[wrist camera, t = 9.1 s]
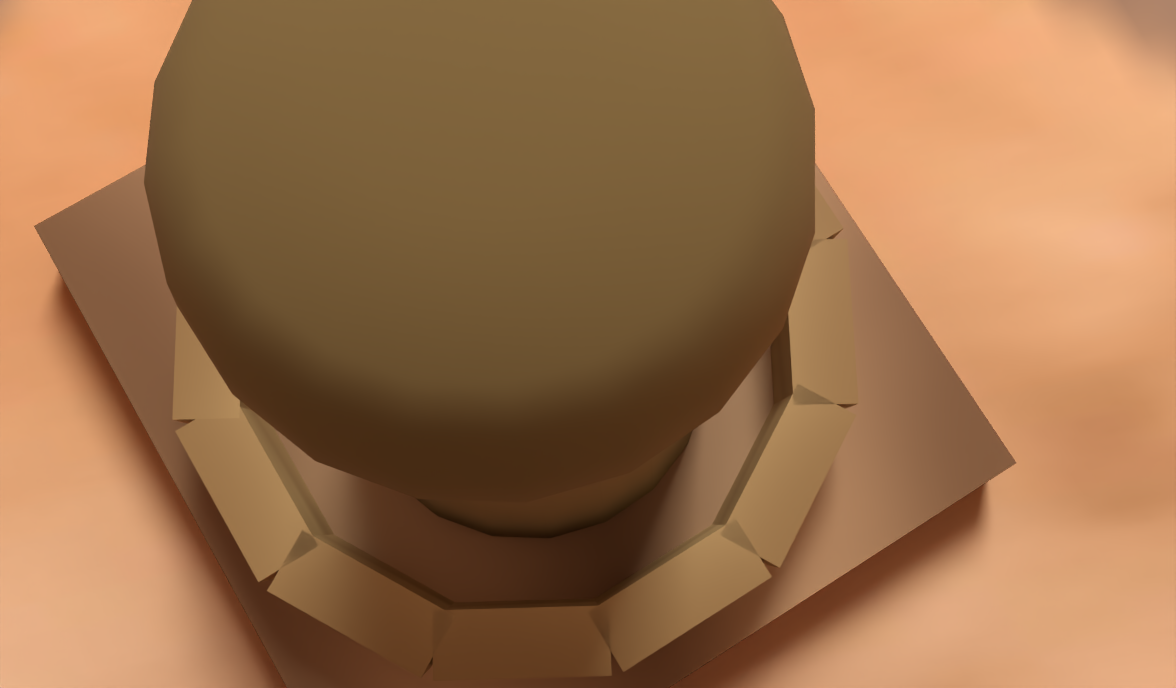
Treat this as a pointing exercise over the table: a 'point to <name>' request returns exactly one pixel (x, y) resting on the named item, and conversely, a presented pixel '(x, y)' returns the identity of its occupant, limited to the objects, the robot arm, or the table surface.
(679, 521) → the hub board
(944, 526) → the table surface
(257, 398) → the olive green peg
